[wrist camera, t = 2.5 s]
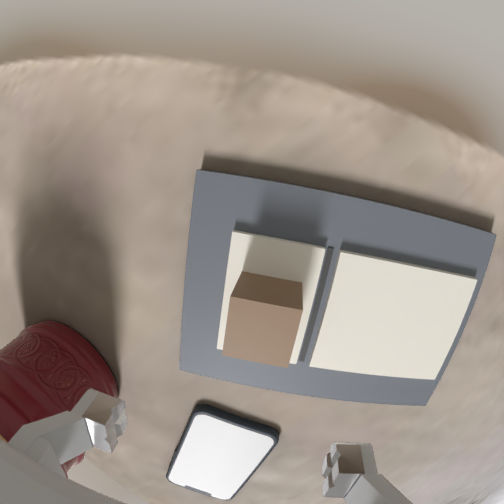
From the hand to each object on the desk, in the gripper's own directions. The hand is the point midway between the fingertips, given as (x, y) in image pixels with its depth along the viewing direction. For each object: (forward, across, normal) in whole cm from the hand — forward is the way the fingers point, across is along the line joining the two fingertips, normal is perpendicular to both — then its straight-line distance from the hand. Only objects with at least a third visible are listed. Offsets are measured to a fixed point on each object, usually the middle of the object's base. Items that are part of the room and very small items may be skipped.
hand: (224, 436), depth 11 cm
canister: (+14, +18, +14) cm, 27 cm away
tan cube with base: (+12, -1, 0) cm, 12 cm away
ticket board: (+13, -6, 0) cm, 14 cm away
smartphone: (+14, +1, +21) cm, 25 cm away
